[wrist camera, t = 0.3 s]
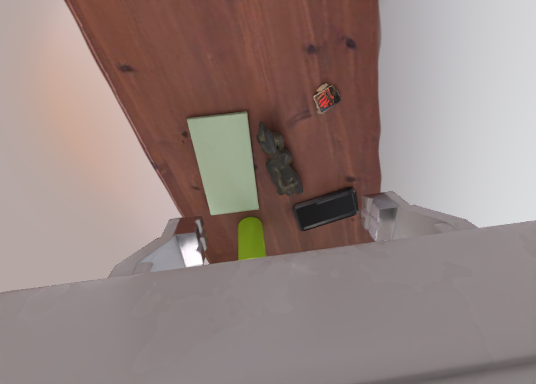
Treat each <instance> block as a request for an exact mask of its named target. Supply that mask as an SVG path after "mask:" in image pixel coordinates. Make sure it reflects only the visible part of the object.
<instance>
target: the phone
mask: <svg viewBox="0 0 536 384" xmlns="http://www.w3.org/2000/svg"><path fill="white" fill-rule="evenodd" d="M293 211H294V214H295V217H296V220H297V223H298V226H299V229H300V230H301V231H306V230H309V229H312V228H315V227H319V226H322V225H325V224H328V223H331V222H335V221H338V220H341V219H344V218H348V217H351V216H354V215H356V214H357V213H358V212H359V210H358V203H357V196H356V192H355V190H354V189H353V188H346V189H343V190H340V191H337V192H334V193H331V194H328V195H324V196H321V197H318V198H315V199H312V200H309V201H306V202H303V203H299V204H296V205H295V206H294V207H293Z"/></svg>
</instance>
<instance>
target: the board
mask: <svg viewBox="0 0 536 384" xmlns="http://www.w3.org/2000/svg"><path fill="white" fill-rule="evenodd" d="M187 122H188V126H189V130H190V134H191V138H192V142H193V146H194V150H195V154H196V158H197V162H198V166H199V170H200V174H201V178H202V182H203V186H204V190H205V194H206V197H207V201H208V205H209V209H210V213H211V215H217V214H225V213H233V212H241V211H249V210H257V209H259V207H258V198H257V190H256V182H255V174H254V166H253V158H252V150H251V142H250V133H249V125H248V117H247V111H246V112H237V113H228V114H219V115H210V116H200V117H191V118H188V119H187Z"/></svg>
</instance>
